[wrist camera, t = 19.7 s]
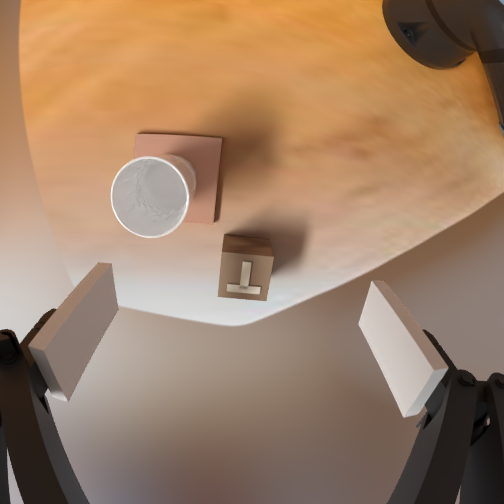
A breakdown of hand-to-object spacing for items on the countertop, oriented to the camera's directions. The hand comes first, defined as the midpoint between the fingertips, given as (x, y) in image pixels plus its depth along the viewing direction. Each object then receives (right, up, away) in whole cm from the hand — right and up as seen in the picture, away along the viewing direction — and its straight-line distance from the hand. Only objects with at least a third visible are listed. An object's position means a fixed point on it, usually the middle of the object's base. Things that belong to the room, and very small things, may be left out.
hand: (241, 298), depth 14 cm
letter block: (-1, +1, +26) cm, 27 cm away
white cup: (-10, +11, +21) cm, 26 cm away
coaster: (-9, +12, +22) cm, 26 cm away
